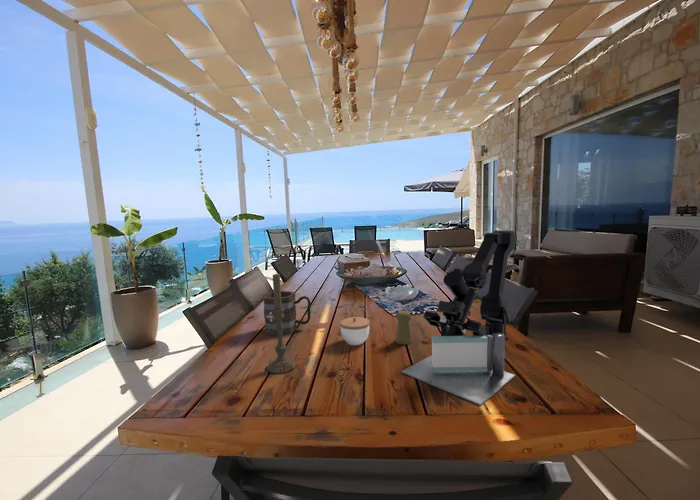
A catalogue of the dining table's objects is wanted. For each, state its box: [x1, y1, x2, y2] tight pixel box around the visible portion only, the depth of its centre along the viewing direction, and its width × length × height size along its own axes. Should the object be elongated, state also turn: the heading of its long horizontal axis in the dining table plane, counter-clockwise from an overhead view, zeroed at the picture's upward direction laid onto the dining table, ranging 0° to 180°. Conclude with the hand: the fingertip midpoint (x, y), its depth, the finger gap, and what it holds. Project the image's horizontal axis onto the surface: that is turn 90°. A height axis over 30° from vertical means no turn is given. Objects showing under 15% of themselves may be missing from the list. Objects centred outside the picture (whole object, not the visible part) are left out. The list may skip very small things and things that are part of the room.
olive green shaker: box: [395, 310, 413, 345], centre depth 120 cm, size 6×6×11 cm
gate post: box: [401, 333, 516, 406], centre depth 94 cm, size 24×20×12 cm
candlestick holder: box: [266, 272, 298, 375], centre depth 102 cm, size 9×9×30 cm
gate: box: [431, 335, 493, 371], centre depth 95 cm, size 17×2×10 cm, turn 87°
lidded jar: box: [339, 316, 370, 346], centre depth 121 cm, size 11×11×9 cm
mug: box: [262, 290, 312, 337], centre depth 137 cm, size 20×14×15 cm
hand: (442, 348), depth 98 cm, fingers closed
